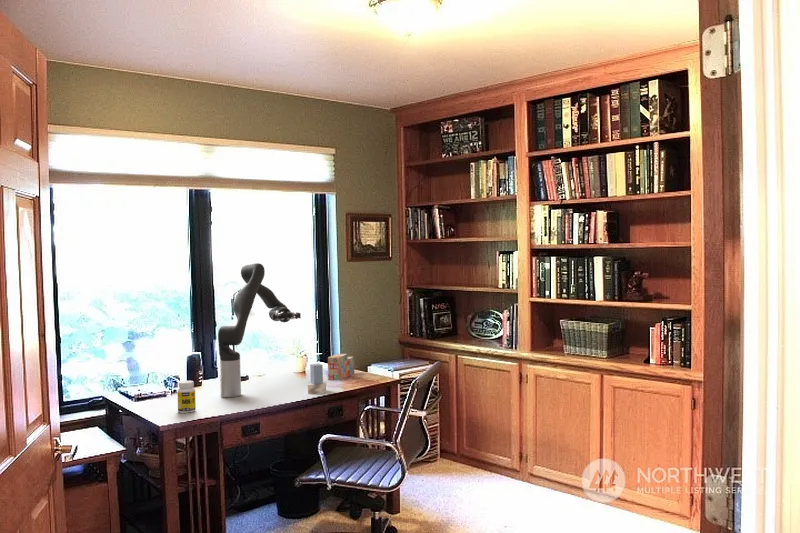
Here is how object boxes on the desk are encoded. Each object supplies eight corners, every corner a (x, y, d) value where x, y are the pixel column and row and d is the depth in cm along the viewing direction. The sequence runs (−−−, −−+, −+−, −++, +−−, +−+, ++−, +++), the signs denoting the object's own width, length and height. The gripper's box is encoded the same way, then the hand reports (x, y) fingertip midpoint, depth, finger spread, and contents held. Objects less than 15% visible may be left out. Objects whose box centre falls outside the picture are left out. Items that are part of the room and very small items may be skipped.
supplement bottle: (181, 414, 276) (180, 384, 276) (175, 411, 282) (174, 381, 281) (198, 411, 280) (197, 381, 280) (192, 408, 286) (191, 379, 286)
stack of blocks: (344, 372, 364) (343, 350, 364) (354, 373, 362) (354, 351, 362) (328, 380, 344) (327, 357, 343) (339, 380, 342) (338, 357, 341)
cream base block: (308, 394, 311) (307, 384, 311) (311, 390, 319) (310, 381, 319) (323, 394, 311) (323, 384, 311) (326, 390, 318) (326, 381, 318)
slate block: (314, 384, 311) (313, 366, 311) (310, 383, 315) (310, 364, 315) (322, 383, 314) (322, 364, 313) (319, 381, 317) (318, 363, 317)
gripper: (269, 308, 342) (274, 310, 327) (296, 306, 347) (302, 309, 332) (269, 322, 342) (274, 325, 327) (296, 320, 347) (302, 323, 332)
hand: (288, 317), depth 329 cm, fingers open, 8 cm apart
